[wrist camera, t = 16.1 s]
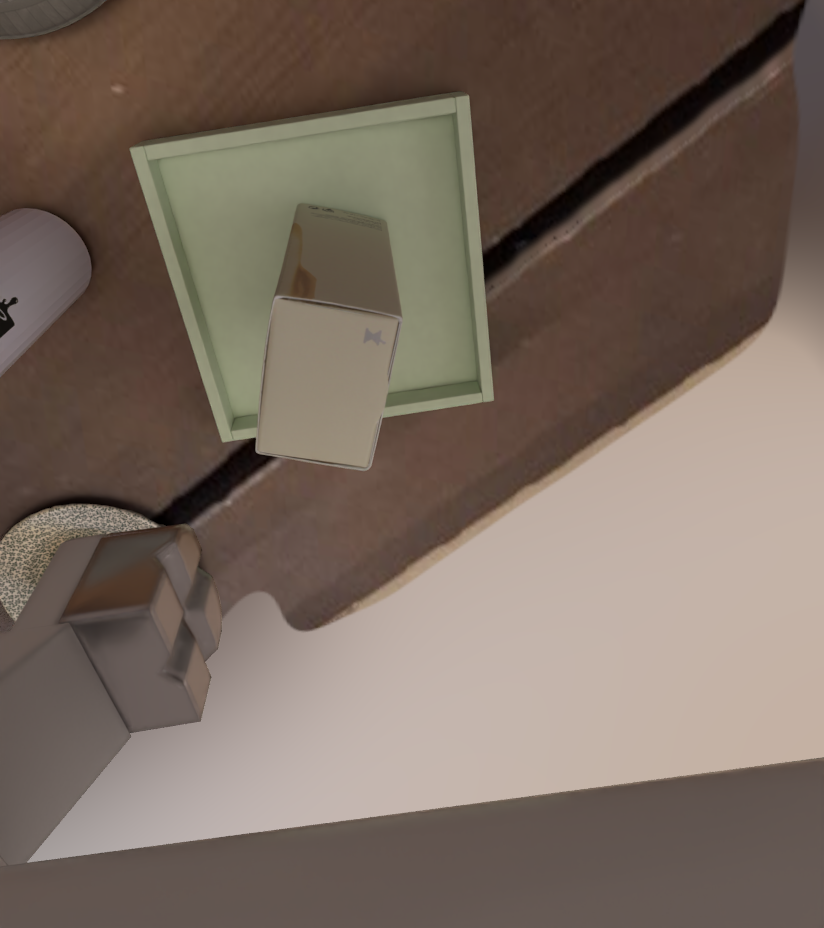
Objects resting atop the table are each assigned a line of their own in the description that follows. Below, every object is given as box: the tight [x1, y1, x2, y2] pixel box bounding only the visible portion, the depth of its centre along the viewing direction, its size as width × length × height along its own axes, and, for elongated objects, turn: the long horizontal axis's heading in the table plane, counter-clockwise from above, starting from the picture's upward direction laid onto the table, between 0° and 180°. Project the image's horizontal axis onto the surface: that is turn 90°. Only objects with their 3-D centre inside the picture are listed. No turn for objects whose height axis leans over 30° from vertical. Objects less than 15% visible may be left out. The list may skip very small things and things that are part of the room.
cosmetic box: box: [256, 203, 403, 471], centre depth 29 cm, size 6×4×12 cm
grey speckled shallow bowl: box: [0, 504, 165, 622], centre depth 42 cm, size 12×12×5 cm
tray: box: [129, 91, 494, 442], centre depth 34 cm, size 14×14×2 cm
